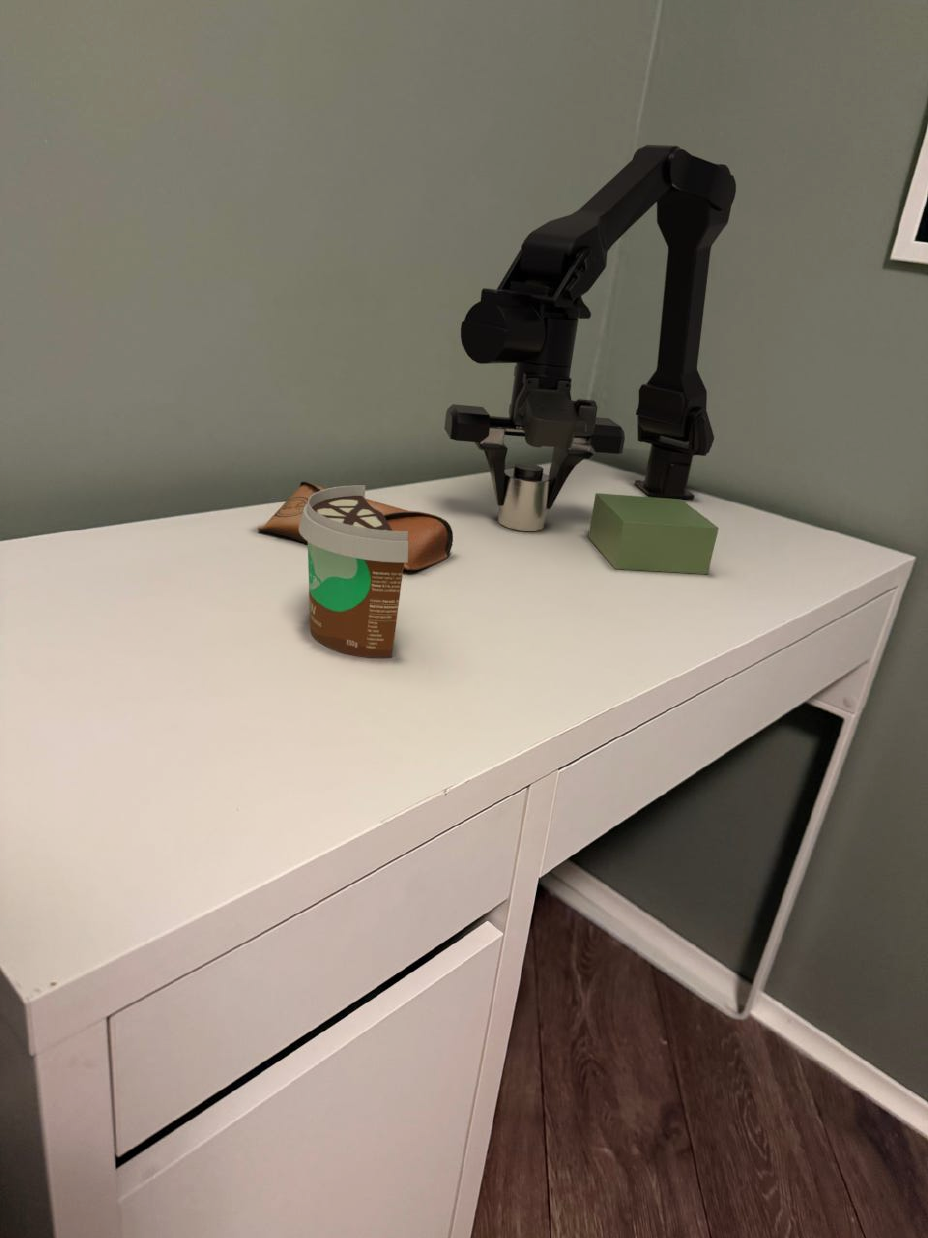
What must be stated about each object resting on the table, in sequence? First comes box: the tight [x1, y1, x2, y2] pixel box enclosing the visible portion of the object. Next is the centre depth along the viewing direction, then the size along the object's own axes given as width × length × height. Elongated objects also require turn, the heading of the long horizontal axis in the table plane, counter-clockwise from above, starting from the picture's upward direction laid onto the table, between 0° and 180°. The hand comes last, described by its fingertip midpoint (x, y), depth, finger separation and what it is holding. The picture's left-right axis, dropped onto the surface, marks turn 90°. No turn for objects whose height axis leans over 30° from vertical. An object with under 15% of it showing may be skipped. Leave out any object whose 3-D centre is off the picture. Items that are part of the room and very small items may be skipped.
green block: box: [587, 492, 719, 575], centre depth 94 cm, size 10×10×5 cm
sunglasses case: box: [257, 481, 454, 572], centre depth 87 cm, size 18×7×7 cm
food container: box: [298, 484, 408, 659], centre depth 66 cm, size 12×6×10 cm, turn 21°
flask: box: [497, 462, 551, 532], centre depth 98 cm, size 5×5×6 cm
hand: (523, 506), depth 99 cm, fingers closed on flask, 5 cm apart
